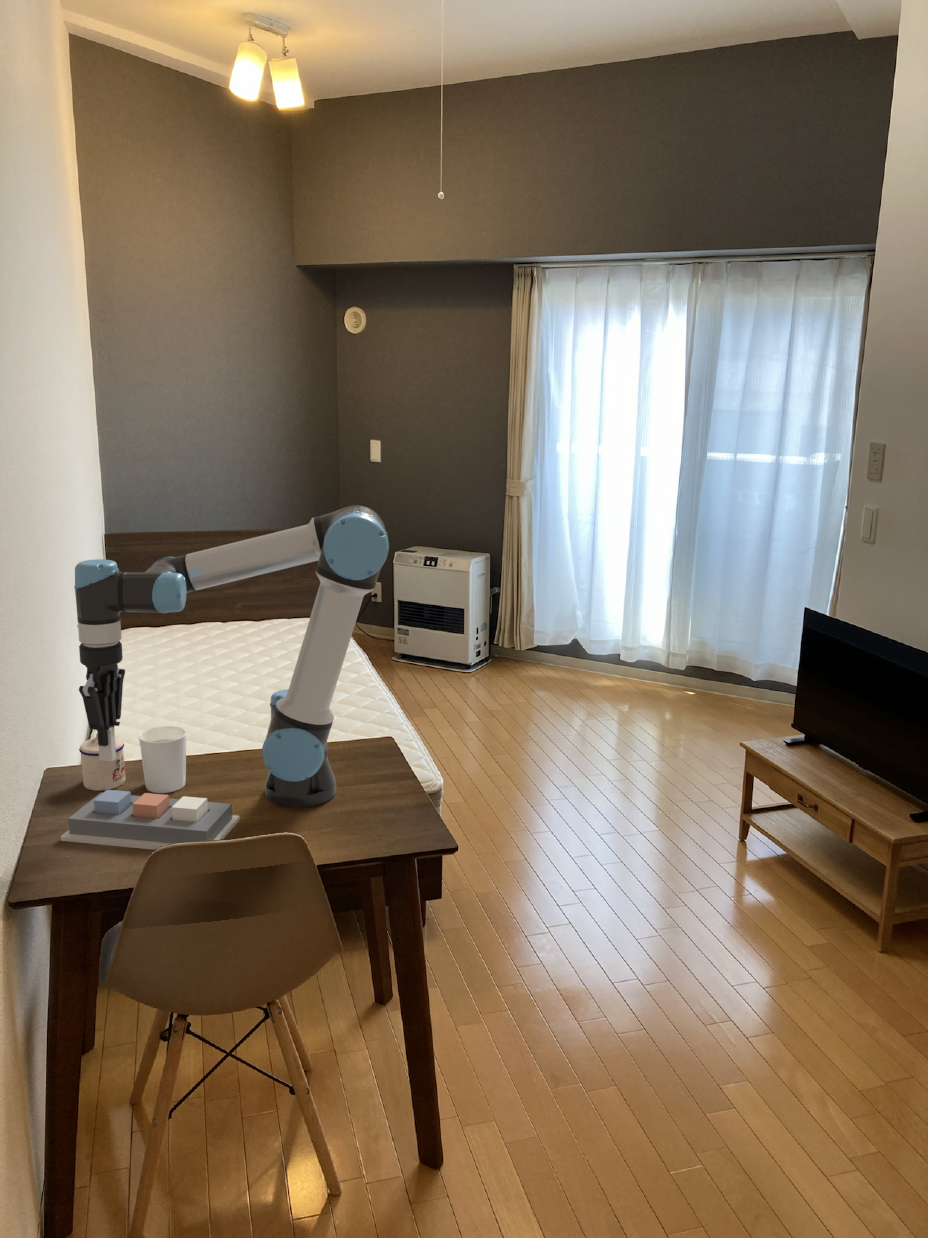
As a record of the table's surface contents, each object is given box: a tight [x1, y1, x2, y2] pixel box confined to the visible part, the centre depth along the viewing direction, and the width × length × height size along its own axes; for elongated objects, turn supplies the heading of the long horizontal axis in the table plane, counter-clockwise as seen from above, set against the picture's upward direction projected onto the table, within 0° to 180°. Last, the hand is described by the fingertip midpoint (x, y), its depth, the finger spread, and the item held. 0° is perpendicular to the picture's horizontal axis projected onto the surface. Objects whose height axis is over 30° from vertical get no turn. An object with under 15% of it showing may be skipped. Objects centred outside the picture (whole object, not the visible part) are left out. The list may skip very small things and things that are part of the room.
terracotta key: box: [133, 792, 170, 819], centre depth 181 cm, size 5×5×3 cm
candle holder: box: [138, 725, 187, 794], centre depth 201 cm, size 10×10×12 cm
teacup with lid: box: [78, 733, 126, 792], centre depth 203 cm, size 12×9×12 cm
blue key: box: [94, 789, 132, 815], centre depth 183 cm, size 5×5×3 cm
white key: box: [172, 795, 208, 822], centre depth 180 cm, size 5×5×3 cm
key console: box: [60, 792, 241, 851], centre depth 182 cm, size 30×15×4 cm, turn 81°
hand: (107, 759), depth 180 cm, fingers closed
